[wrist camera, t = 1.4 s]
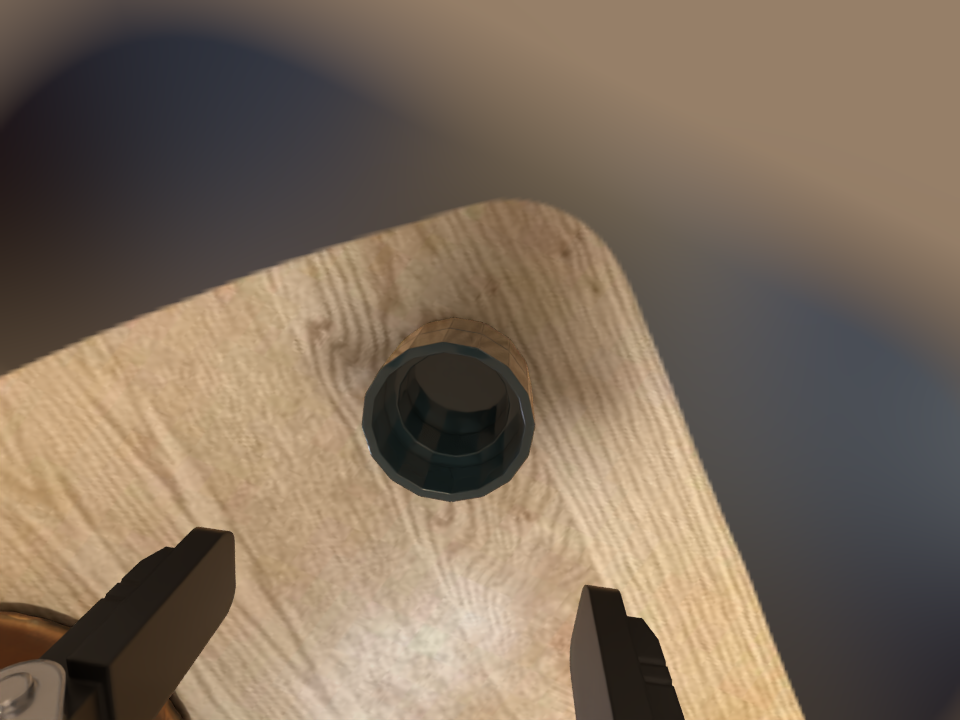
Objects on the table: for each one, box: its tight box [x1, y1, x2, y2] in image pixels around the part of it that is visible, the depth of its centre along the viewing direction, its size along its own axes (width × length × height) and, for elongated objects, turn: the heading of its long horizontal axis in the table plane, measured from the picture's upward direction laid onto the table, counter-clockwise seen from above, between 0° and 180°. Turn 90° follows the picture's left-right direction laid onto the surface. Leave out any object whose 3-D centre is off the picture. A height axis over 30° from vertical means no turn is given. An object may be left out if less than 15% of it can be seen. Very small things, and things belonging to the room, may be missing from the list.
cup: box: [362, 317, 535, 502], centre depth 22 cm, size 7×7×4 cm
